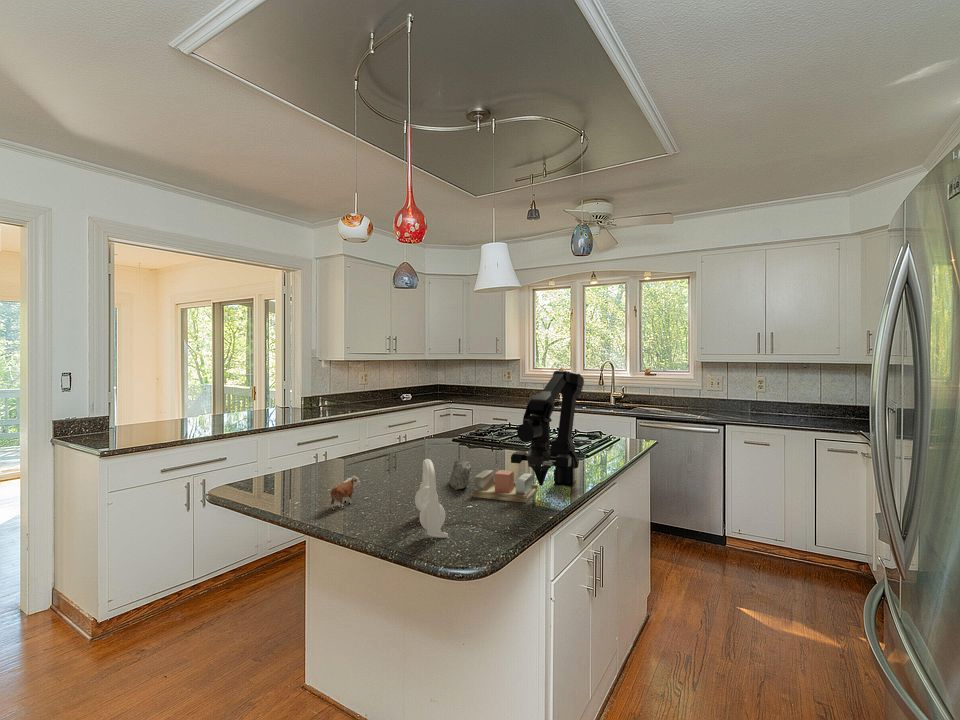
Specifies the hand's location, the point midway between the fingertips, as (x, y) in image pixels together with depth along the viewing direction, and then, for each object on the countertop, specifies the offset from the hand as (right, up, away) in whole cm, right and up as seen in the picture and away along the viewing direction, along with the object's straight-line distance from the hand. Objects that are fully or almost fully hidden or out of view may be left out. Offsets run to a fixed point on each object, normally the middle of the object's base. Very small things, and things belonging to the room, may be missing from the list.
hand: (541, 485), depth 161 cm
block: (-12, -3, +5) cm, 13 cm away
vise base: (-11, -4, +4) cm, 13 cm away
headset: (-33, -5, -24) cm, 42 cm away
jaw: (-5, -3, +2) cm, 6 cm away
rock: (-26, -4, +15) cm, 31 cm away
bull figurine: (-61, -5, -6) cm, 62 cm away
